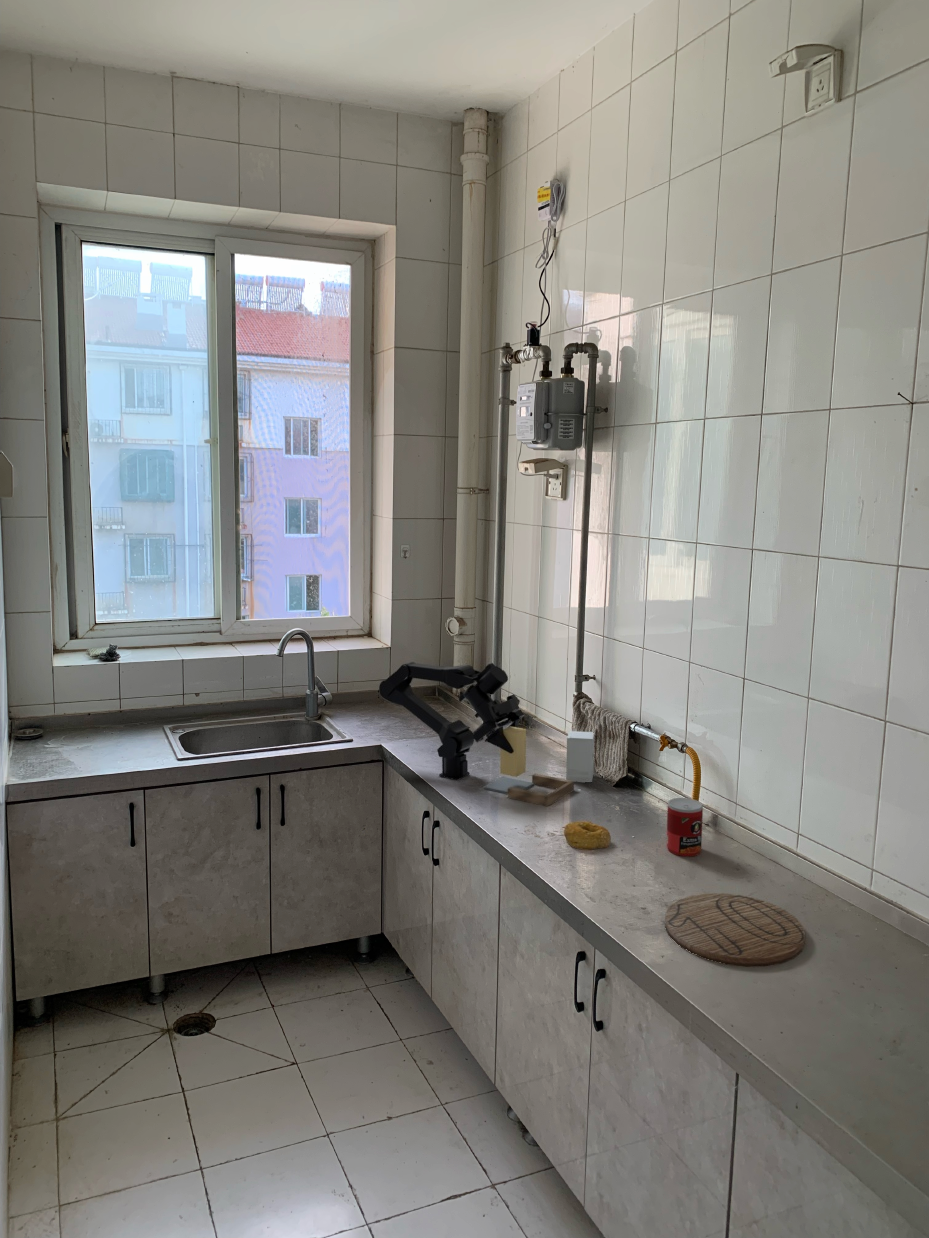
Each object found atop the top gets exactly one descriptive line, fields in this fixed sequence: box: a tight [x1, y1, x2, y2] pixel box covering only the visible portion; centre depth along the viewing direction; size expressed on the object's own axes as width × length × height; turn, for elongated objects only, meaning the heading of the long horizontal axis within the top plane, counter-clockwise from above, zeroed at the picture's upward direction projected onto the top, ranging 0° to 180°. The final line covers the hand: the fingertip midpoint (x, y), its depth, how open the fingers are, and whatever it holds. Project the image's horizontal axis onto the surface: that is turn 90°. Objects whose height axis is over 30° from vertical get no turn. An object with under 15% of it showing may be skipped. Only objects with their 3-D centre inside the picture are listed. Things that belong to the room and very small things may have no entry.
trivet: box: [664, 892, 806, 968], centre depth 172 cm, size 25×25×2 cm
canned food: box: [666, 797, 704, 857], centre depth 208 cm, size 8×8×11 cm
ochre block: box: [499, 726, 527, 778], centre depth 249 cm, size 5×5×12 cm
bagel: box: [563, 820, 612, 851], centre depth 213 cm, size 10×11×5 cm
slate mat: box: [483, 776, 535, 795], centre depth 251 cm, size 10×10×1 cm
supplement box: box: [565, 730, 595, 783], centre depth 257 cm, size 7×7×13 cm
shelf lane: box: [507, 773, 575, 807], centre depth 245 cm, size 12×14×2 cm
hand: (517, 750), depth 248 cm, fingers closed on ochre block, 5 cm apart
